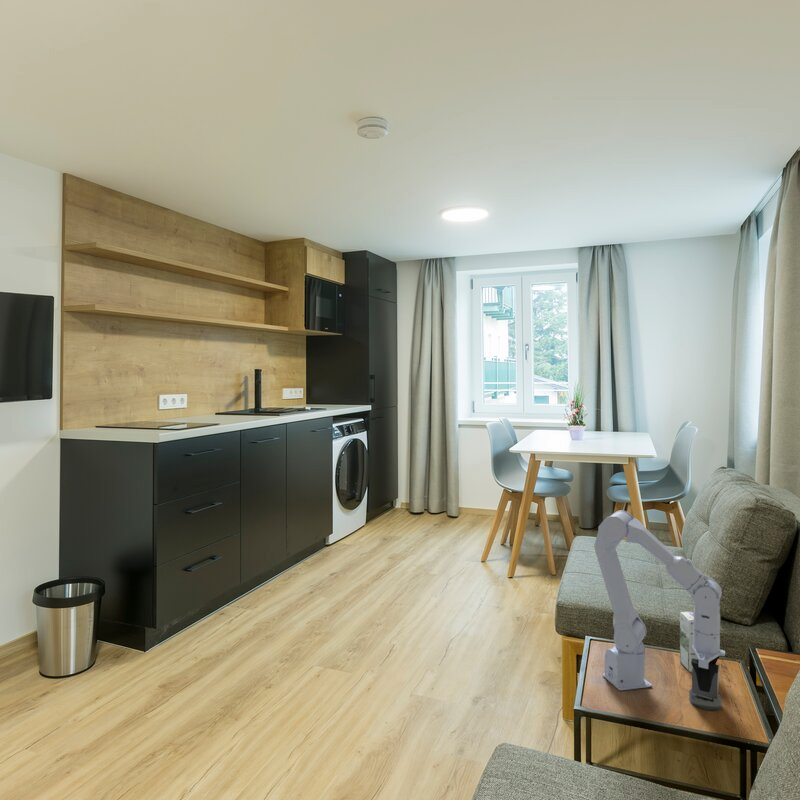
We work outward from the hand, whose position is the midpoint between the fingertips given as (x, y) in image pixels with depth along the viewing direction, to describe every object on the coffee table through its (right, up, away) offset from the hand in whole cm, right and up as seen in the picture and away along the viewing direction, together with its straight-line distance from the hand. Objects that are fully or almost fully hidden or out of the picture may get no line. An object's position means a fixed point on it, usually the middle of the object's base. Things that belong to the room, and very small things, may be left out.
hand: (705, 685), depth 141 cm
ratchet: (+2, -4, +3) cm, 6 cm away
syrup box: (+6, -4, +18) cm, 19 cm away
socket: (0, -2, 0) cm, 2 cm away
